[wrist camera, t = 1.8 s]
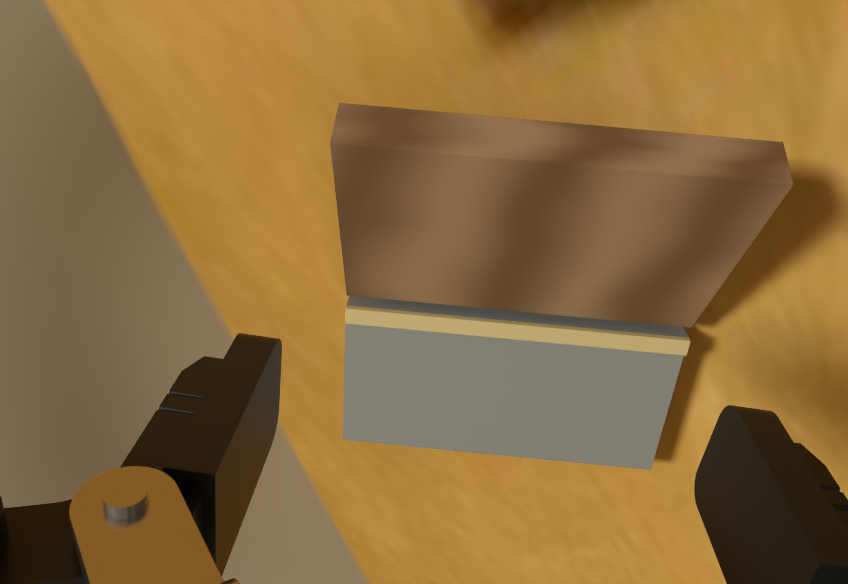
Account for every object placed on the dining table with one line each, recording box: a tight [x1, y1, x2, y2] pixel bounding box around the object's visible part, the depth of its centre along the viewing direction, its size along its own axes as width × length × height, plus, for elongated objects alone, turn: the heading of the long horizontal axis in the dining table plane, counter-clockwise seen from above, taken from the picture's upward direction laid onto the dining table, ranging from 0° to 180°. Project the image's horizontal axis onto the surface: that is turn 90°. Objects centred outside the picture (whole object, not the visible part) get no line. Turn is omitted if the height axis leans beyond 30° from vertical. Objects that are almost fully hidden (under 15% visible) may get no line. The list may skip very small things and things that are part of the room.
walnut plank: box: [330, 103, 793, 328], centre depth 29 cm, size 16×10×2 cm
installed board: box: [343, 296, 691, 470], centre depth 36 cm, size 16×8×2 cm, turn 86°
